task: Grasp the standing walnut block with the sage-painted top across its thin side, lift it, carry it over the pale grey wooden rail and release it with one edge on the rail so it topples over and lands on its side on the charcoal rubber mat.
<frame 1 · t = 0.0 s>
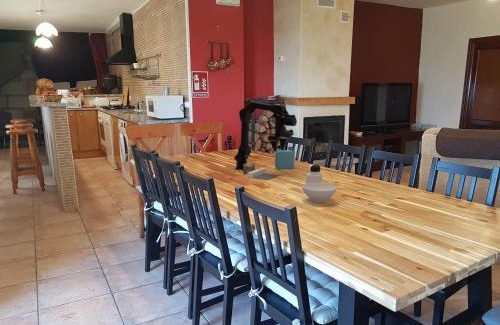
hand: (279, 150, 237), 15 cm above the table, fingers open, 9 cm apart
rail: (256, 175, 235), on the table
medicine bottle: (313, 187, 208), on the table
mat: (265, 176, 231), on the table
bowl: (318, 201, 181), on the table
block: (249, 173, 241), on the table
data package: (284, 168, 255), on the table
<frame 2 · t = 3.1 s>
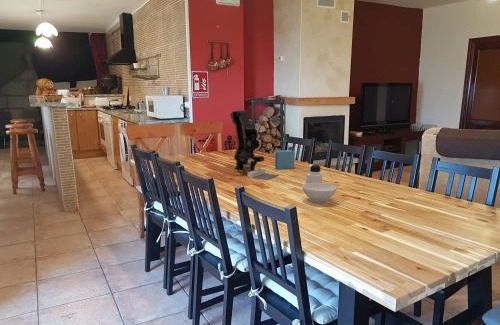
hand: (249, 171, 241), 1 cm above the table, fingers closed on block, 4 cm apart
block: (249, 173, 241), on the table, touching gripper
everything else where it was.
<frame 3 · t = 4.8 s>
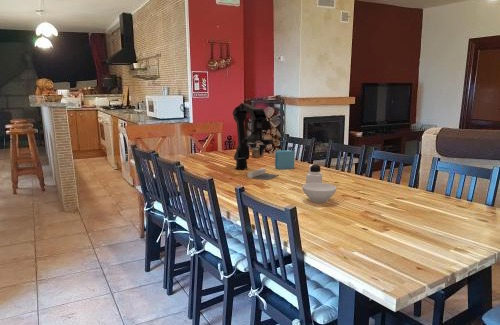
hand: (257, 155, 232), 13 cm above the table, fingers closed on block, 4 cm apart
block: (257, 157, 233), point 11 cm above the table, touching gripper
everything else where it was.
when the fingers open (5 cm above the table, at t = 6.7 s): block drops 1 cm, resting on rail.
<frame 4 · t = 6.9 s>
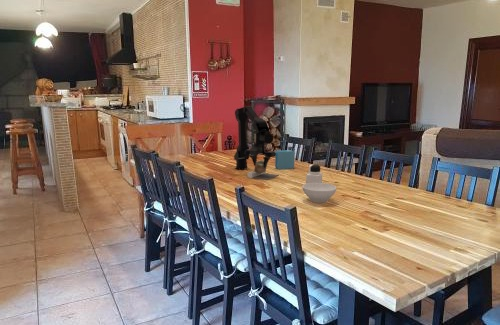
hand: (259, 167, 232), 5 cm above the table, fingers open, 6 cm apart
block: (259, 171, 233), point 3 cm above the table, tilted 13°, touching gripper, rail
everything else where it was.
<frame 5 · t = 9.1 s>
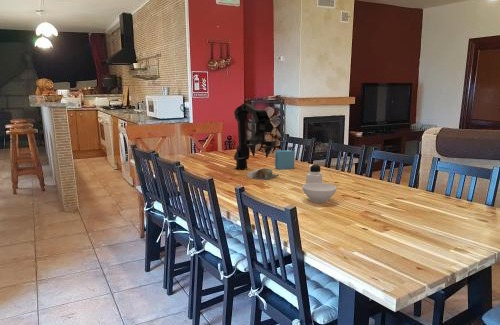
hand: (260, 156, 231), 12 cm above the table, fingers open, 9 cm apart
block: (260, 172, 233), point 2 cm above the table, tilted 90°, touching mat
everything else where it was.
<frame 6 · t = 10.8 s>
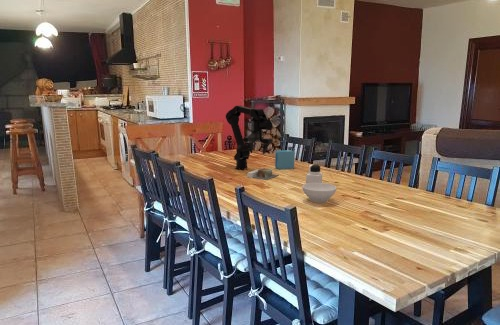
hand: (257, 153, 241), 12 cm above the table, fingers open, 9 cm apart
nothing on the table moved.
at the end: block tilted 90°; block inside the target area (3.5 cm from its centre), point 2.3 cm above the table; the gripper is holding nothing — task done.
